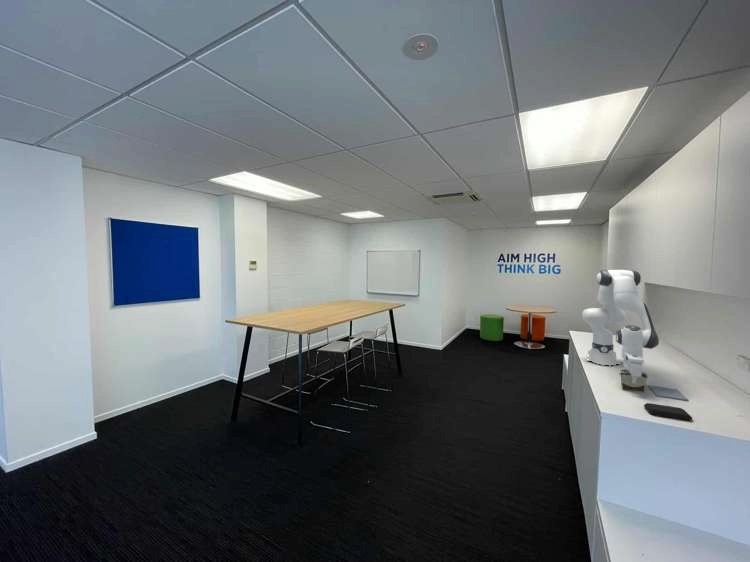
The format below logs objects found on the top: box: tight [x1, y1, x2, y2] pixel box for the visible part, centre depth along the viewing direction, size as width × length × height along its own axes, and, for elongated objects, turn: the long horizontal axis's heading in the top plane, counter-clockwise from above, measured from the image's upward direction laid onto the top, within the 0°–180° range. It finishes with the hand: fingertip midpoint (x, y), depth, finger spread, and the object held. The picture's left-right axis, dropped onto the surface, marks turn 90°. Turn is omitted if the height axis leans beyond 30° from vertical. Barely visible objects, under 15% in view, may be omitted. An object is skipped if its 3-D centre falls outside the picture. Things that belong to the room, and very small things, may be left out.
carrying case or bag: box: [643, 402, 693, 422], centre depth 137 cm, size 11×3×15 cm
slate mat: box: [647, 384, 690, 402], centre depth 158 cm, size 15×12×1 cm
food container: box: [618, 369, 649, 393], centre depth 164 cm, size 12×6×10 cm, turn 66°
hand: (631, 379), depth 164 cm, fingers open, 8 cm apart
